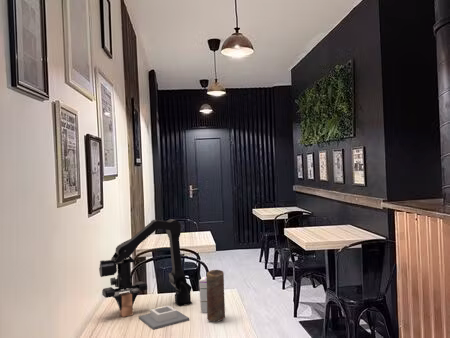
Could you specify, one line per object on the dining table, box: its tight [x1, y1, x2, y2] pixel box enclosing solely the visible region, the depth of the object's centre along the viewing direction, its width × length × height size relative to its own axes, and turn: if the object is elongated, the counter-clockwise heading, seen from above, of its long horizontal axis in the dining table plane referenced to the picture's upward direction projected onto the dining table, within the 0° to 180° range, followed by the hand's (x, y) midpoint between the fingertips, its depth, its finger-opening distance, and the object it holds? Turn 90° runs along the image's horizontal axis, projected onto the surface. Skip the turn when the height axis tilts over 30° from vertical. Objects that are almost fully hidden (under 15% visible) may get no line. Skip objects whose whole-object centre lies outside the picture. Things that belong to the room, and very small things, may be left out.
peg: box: [119, 291, 134, 318], centre depth 181 cm, size 4×4×9 cm
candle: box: [205, 269, 226, 323], centre depth 170 cm, size 8×7×20 cm
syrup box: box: [198, 276, 207, 314], centre depth 182 cm, size 6×6×14 cm
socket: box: [138, 304, 190, 330], centre depth 174 cm, size 16×16×4 cm
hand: (125, 308), depth 181 cm, fingers closed on peg, 4 cm apart
